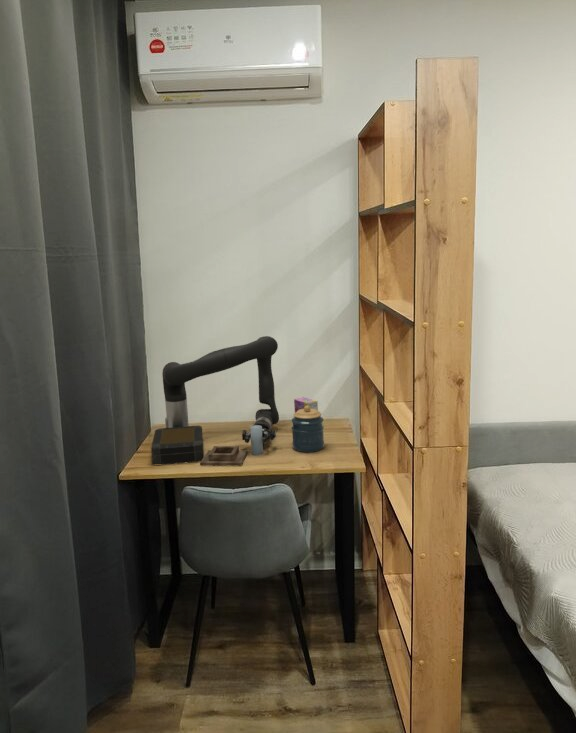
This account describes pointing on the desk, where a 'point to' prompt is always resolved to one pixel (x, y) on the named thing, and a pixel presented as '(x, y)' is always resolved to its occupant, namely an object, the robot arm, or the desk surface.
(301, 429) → the canister
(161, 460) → the cash box
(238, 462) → the holder
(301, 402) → the box
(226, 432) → the desk surface
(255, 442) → the cylinder
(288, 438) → the desk surface
